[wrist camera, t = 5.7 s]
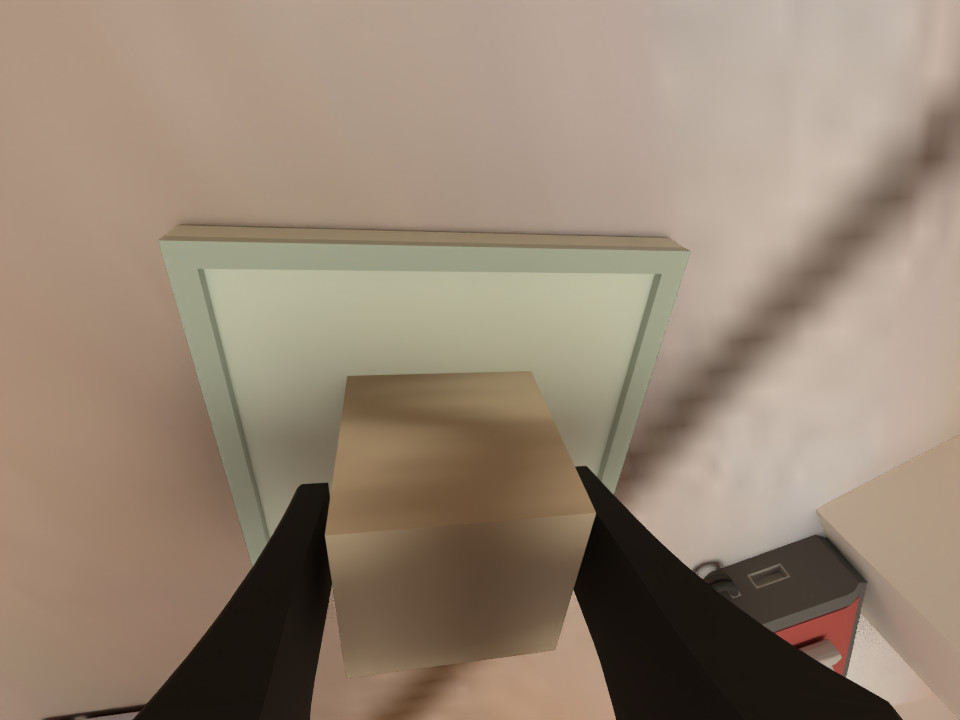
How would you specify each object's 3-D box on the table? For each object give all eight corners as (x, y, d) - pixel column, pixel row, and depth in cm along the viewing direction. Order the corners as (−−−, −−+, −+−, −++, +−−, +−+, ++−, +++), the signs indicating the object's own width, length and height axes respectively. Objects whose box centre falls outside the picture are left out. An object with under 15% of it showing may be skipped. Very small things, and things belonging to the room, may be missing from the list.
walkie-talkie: (645, 572, 22) (686, 720, 33) (697, 675, 18) (723, 802, 29) (827, 507, 21) (807, 678, 32) (917, 599, 18) (860, 757, 29)
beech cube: (359, 506, 15) (346, 678, 11) (347, 375, 12) (324, 535, 8) (511, 495, 16) (555, 650, 12) (530, 371, 13) (596, 513, 9)
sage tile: (266, 560, 17) (259, 589, 16) (178, 225, 10) (158, 240, 10) (583, 532, 19) (593, 556, 18) (668, 237, 13) (690, 251, 12)
